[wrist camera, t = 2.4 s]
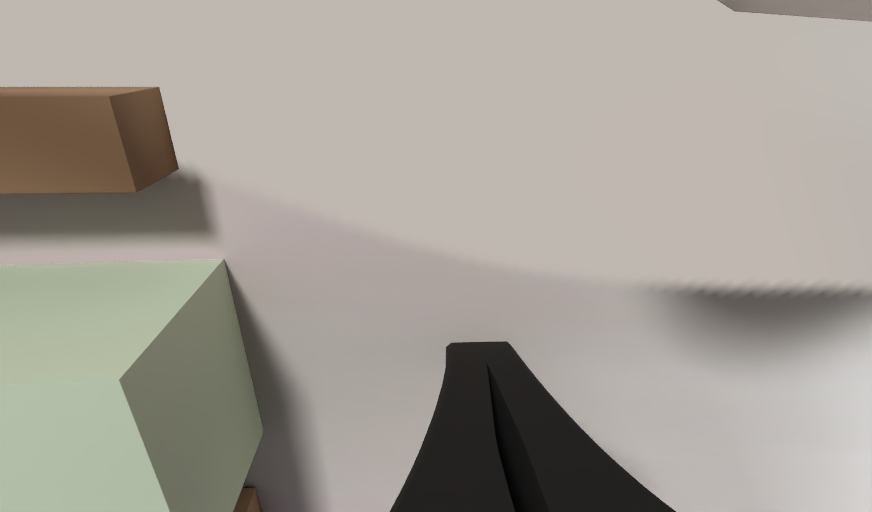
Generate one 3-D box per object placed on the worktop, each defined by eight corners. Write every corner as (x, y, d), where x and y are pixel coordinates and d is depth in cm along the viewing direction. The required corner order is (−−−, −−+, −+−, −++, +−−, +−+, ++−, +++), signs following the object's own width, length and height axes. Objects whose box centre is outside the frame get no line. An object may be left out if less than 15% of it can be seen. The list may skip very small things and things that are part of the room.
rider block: (265, 427, 12) (201, 593, 8) (70, 435, 12) (-81, 608, 8) (226, 256, 10) (119, 379, 6) (-13, 262, 10) (-264, 393, 6)
